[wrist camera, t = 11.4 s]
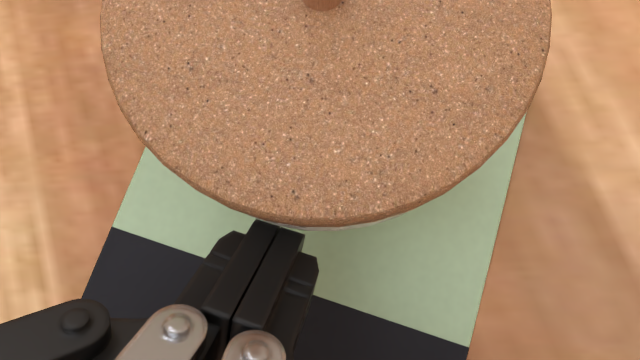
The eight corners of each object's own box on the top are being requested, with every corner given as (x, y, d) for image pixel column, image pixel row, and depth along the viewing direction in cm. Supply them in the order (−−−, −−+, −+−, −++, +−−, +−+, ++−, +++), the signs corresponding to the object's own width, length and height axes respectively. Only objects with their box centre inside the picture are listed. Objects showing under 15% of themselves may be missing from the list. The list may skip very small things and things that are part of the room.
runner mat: (361, 780, 14) (362, 787, 14) (-44, 600, 15) (-49, 604, 15) (544, 33, 19) (546, 31, 19) (231, -50, 20) (230, -53, 20)
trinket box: (459, 263, 17) (609, 236, 8) (174, 237, 17) (-4, 184, 8) (465, 4, 19) (585, -251, 10) (214, -11, 20) (110, -267, 11)
